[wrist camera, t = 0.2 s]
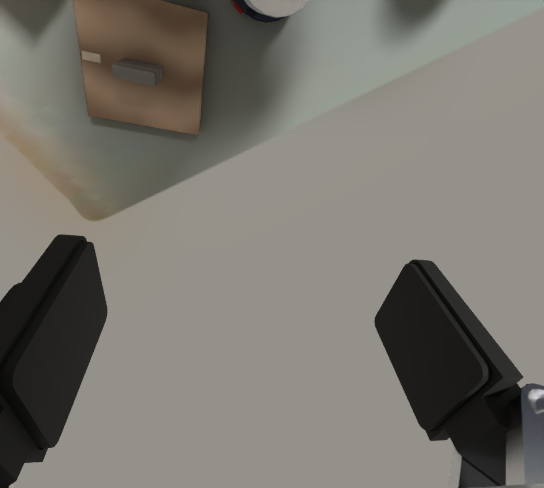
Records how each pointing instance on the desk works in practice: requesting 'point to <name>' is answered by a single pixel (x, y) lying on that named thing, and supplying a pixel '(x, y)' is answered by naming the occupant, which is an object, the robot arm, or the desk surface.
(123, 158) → the desk surface
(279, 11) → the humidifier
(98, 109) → the stand
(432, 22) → the desk surface
